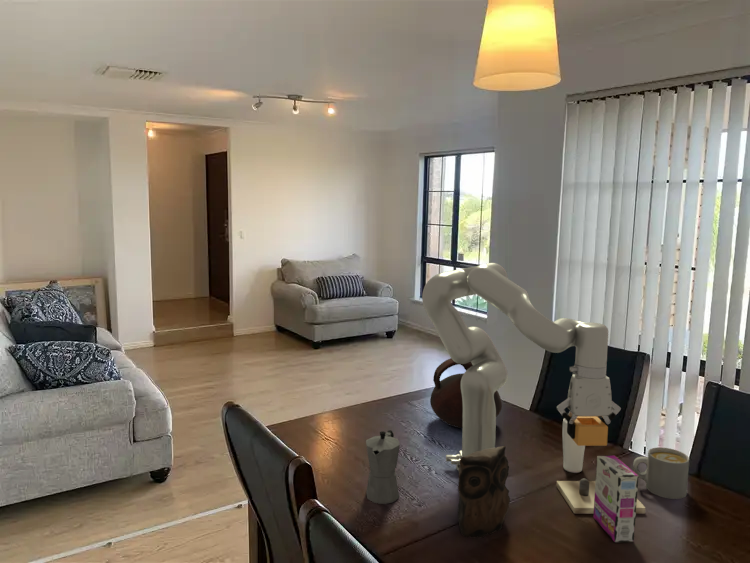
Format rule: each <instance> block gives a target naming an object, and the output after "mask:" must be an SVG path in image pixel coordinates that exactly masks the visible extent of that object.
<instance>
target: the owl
mask: <svg viewBox="0 0 750 563" xmlns="http://www.w3.org/2000/svg"><path fill="white" fill-rule="evenodd" d="M505 451H506V446H505V445H502V446H498V447H495V448H490V449H484V450H482V451H476V452H474V453H471V454H469V455H467V456H465V457H464V456H463V457H462V458H461V459H460V468H459V471H458V487H457V488H458V496H459V497H458V498H459V499H458V505H457V506H458V507H457V508H458V509H457V519H458V527H459V532H460V534H461V535H462V536H463V537H465V538H472V539H476V538H477V539H481V538H484V537H485V536H487V535H490V536H491V535H492V534H493V533H496V532H500V531H501V529H503V523H504V522H505V518H506V516H507V513H508V510H509V506H510V502H511V498H510V495H509V493H510V490H509V489H508V487H506V482H507V478H508V477H509V472H510V470H509V469H510V466H509V460H508V459H507V456H506V454H505V453H506V452H505Z"/></svg>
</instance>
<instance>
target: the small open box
mask: <svg viewBox="0 0 750 563" xmlns="http://www.w3.org/2000/svg"><path fill="white" fill-rule="evenodd" d="M574 424H575V438H574V439H573V440H574V442H575V443H576V444H577V445H578V446H585V447H586V446H587V447H588V446H590V447H591V446H594V447H595V446H597V447H598V446H600V447H601V446H604V447H605V446H607V445H608V435H609V425H608V426H607V425H606V424H605V423H603V422H602V421H601V418H600V417H599V416H578V417H577V418H576V420H575V421H574ZM607 447H608V446H607Z"/></svg>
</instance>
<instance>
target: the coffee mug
mask: <svg viewBox="0 0 750 563" xmlns="http://www.w3.org/2000/svg"><path fill="white" fill-rule="evenodd" d="M647 452H648V453H647V456H638V457H635V459H634V460H633V463H632V471H634V472H635V473H636V474H637V475H638V476H639V477H638V479H639V478H640V479H642V480H643V481H644V482H645V487H646V489H647V490H648V491H649V492H650V493H651V494H654V495H656V496H659V497H660V498H665V499H669V500H671V499H672V500H679V499H684V498H685V497H686V496H687V492H688V480H689V479H688V478H689V467H690V457H689V456H688V455H687V454H686V453H684V452H682V451H679V450H678V449H675V448H674V449H673V448H669V447H658V446H657V447H652V448H650V449H649V450H648V451H647ZM640 464H644V465H646V468H645V471H643V472H642V471H639V465H640Z"/></svg>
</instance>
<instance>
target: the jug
mask: <svg viewBox="0 0 750 563" xmlns="http://www.w3.org/2000/svg"><path fill="white" fill-rule="evenodd" d="M457 365H460V366H462V367H463V369H464V370H465V371H466V370H468V369H469V368H470V367H472V366H473V365H472V363H471V362H469V363H466V364H458V363H456V362H454V361H453V360H452V359H451V357H449V358H448V359H446V360H444V361H442V362H441V363H440V364H439V365H438V366H437V367H436V369H435V370H434V374H433V383H434V384H433V385H434V387H433V389H432V391H431V394H430V398H429V399H430V401H429V402H430V407H431V409H432V411H433V413H434V414H435V416H437V417H438V419H439V420H441V421H442V422H444V423H445V424H447V425H449V426H451V427H454V428H460V429H462V428H463V401H462V393H461V379H462V376H463V374H464V373H465V372H464V373H455V374H452V375H449V376H447V377H444V378H443V379H441V377H442V374H444V372H445V371H447V370H448V369H450V368H451V367H454V366H457ZM500 395H501V394H499V390H497V391H496V392H494V402H495V407H496V418H497V417H498V416H499V415H500V413H501V411H502V407H503V402H502V399H501V396H500Z"/></svg>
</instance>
